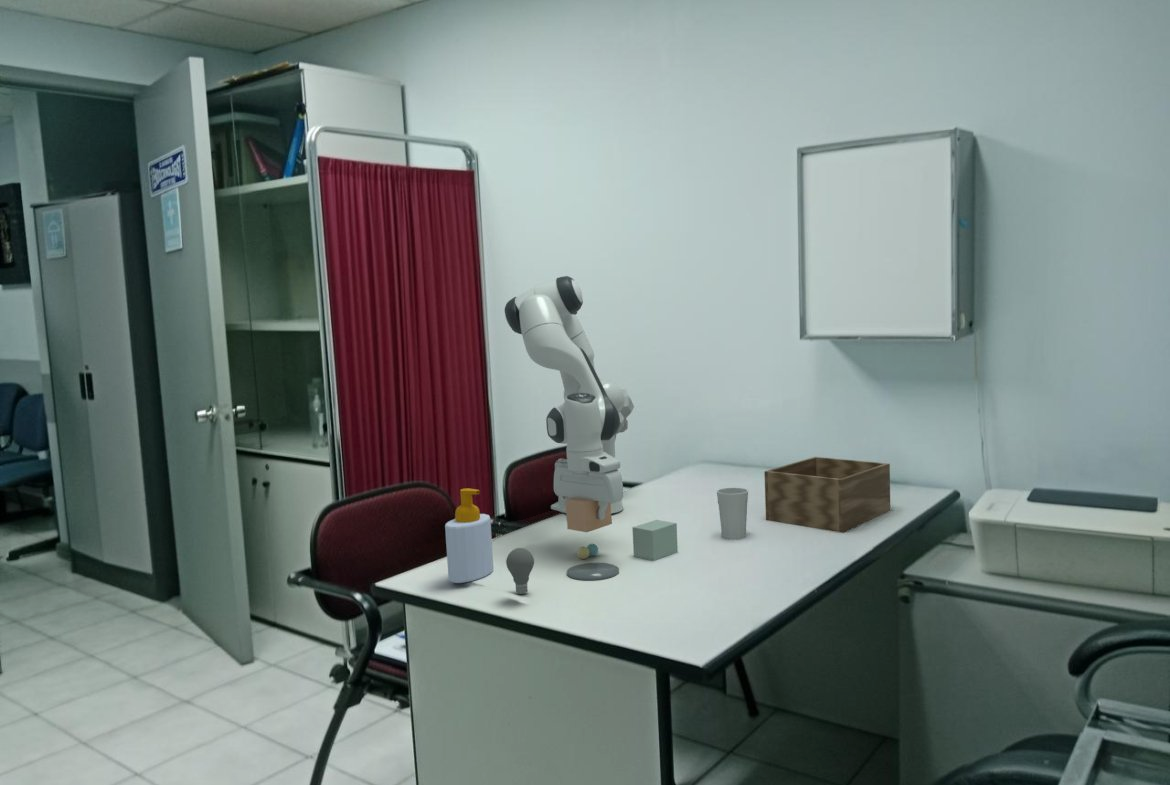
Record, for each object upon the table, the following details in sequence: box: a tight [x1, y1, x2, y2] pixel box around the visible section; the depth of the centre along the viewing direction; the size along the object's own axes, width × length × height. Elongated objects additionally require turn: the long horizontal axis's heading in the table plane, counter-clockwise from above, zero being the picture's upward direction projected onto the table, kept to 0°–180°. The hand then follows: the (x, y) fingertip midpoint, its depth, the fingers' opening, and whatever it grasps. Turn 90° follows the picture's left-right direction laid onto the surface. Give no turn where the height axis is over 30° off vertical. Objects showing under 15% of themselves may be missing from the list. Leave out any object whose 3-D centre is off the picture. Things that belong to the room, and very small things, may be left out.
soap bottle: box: [444, 487, 494, 584], centre depth 213 cm, size 13×8×20 cm, turn 148°
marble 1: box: [576, 546, 590, 560], centre depth 223 cm, size 3×3×3 cm
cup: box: [716, 487, 749, 541], centre depth 236 cm, size 8×8×12 cm
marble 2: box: [586, 543, 599, 557], centre depth 225 cm, size 3×3×3 cm
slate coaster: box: [566, 562, 620, 582], centre depth 211 cm, size 12×12×1 cm
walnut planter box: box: [763, 456, 891, 534], centre depth 250 cm, size 23×26×14 cm
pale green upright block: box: [632, 519, 679, 561], centre depth 223 cm, size 6×9×7 cm
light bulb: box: [505, 547, 535, 595], centre depth 198 cm, size 6×6×10 cm
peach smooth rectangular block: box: [565, 498, 613, 533], centre depth 223 cm, size 6×9×7 cm
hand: (589, 517), depth 223 cm, fingers closed on peach smooth rectangular block, 6 cm apart
